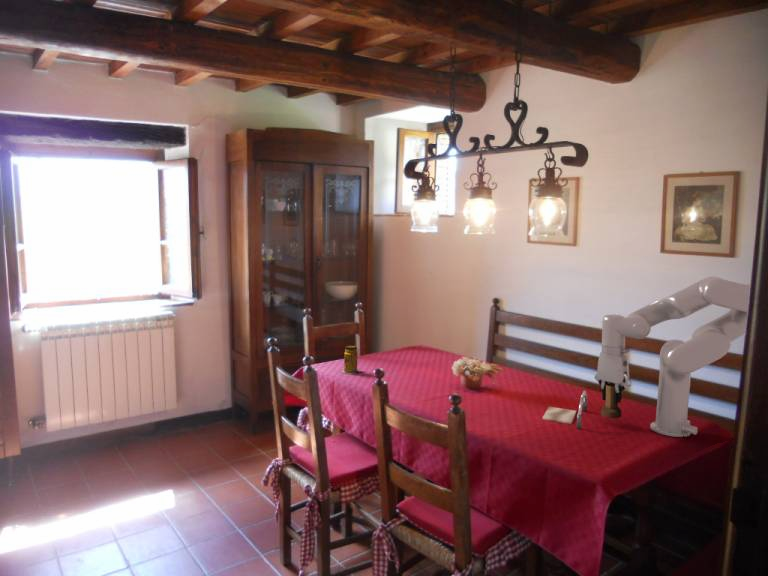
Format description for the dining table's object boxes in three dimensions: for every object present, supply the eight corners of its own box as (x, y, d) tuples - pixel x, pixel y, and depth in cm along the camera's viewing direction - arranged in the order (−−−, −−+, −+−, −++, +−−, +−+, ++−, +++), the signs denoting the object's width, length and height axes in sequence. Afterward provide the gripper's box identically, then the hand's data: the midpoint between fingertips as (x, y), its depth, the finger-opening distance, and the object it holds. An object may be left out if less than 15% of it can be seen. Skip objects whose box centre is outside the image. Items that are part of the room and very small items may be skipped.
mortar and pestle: (598, 415, 204) (599, 365, 202) (605, 411, 209) (607, 362, 207) (616, 419, 199) (618, 368, 198) (624, 415, 204) (625, 365, 202)
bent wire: (586, 410, 218) (588, 386, 217) (580, 429, 198) (582, 402, 197) (583, 410, 218) (584, 385, 217) (576, 428, 199) (577, 401, 198)
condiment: (340, 371, 266) (340, 346, 265) (354, 368, 272) (354, 343, 270) (350, 375, 261) (350, 349, 259) (364, 372, 267) (364, 346, 265)
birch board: (576, 412, 216) (576, 410, 216) (571, 423, 203) (571, 422, 203) (548, 408, 220) (548, 406, 220) (542, 419, 207) (542, 417, 207)
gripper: (641, 353, 197) (639, 405, 199) (599, 344, 211) (597, 393, 212) (628, 356, 193) (626, 409, 195) (586, 347, 206) (584, 397, 208)
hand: (611, 400), depth 203 cm, fingers closed on mortar and pestle, 3 cm apart
